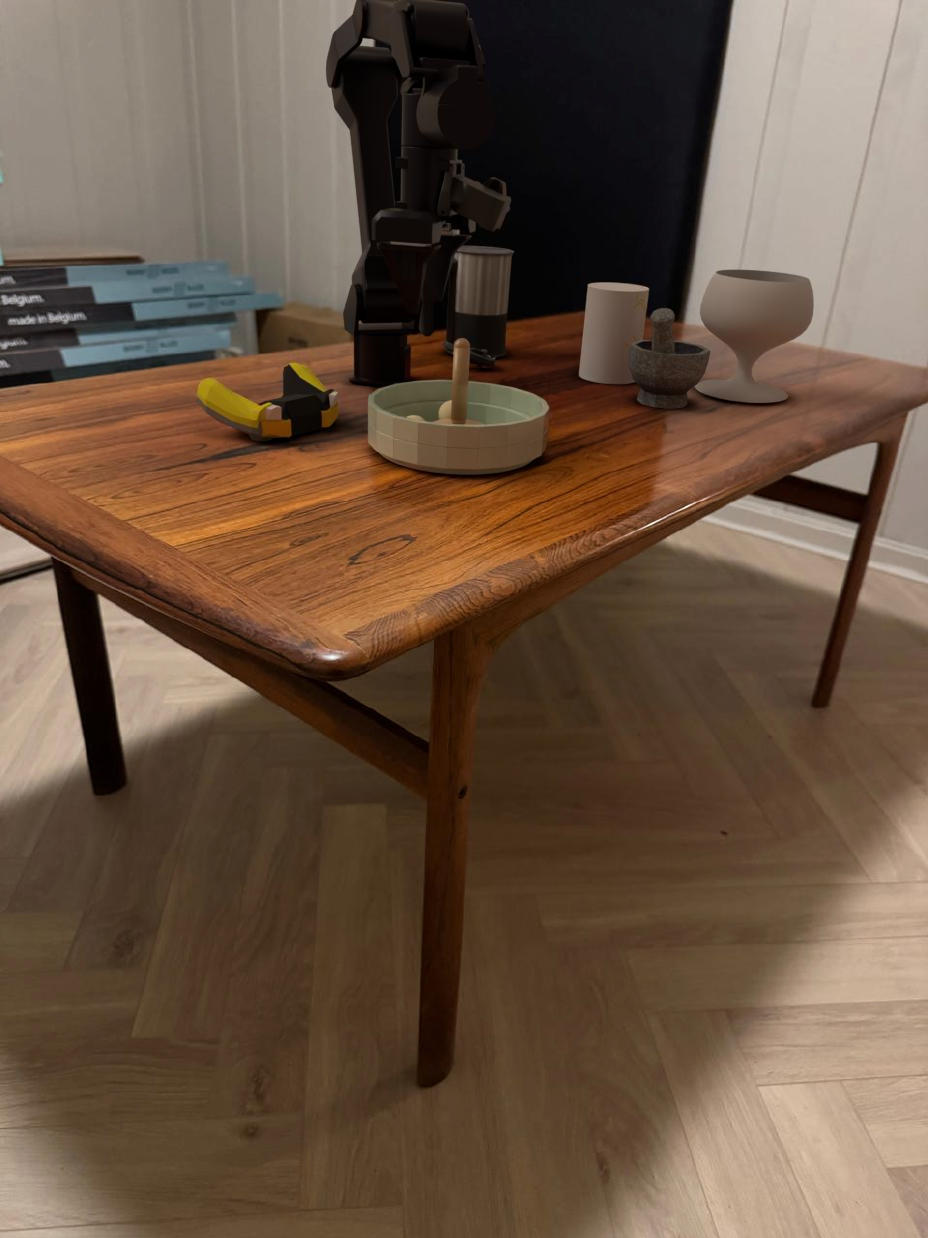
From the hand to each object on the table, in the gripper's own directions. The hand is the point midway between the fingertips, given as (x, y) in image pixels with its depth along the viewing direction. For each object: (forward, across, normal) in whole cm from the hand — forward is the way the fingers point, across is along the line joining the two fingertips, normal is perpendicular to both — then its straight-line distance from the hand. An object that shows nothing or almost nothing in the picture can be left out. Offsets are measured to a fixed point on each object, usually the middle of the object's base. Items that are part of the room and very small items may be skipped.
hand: (425, 307), depth 101 cm
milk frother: (+12, +33, +2) cm, 35 cm away
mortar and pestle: (+12, +18, -26) cm, 34 cm away
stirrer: (+11, -11, -7) cm, 17 cm away
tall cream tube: (+12, +30, -18) cm, 37 cm away
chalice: (+12, +28, -36) cm, 47 cm away
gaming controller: (+12, -11, +13) cm, 21 cm away
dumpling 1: (+10, -14, -3) cm, 17 cm away
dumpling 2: (+10, -6, -5) cm, 13 cm away
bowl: (+12, -11, -7) cm, 18 cm away
